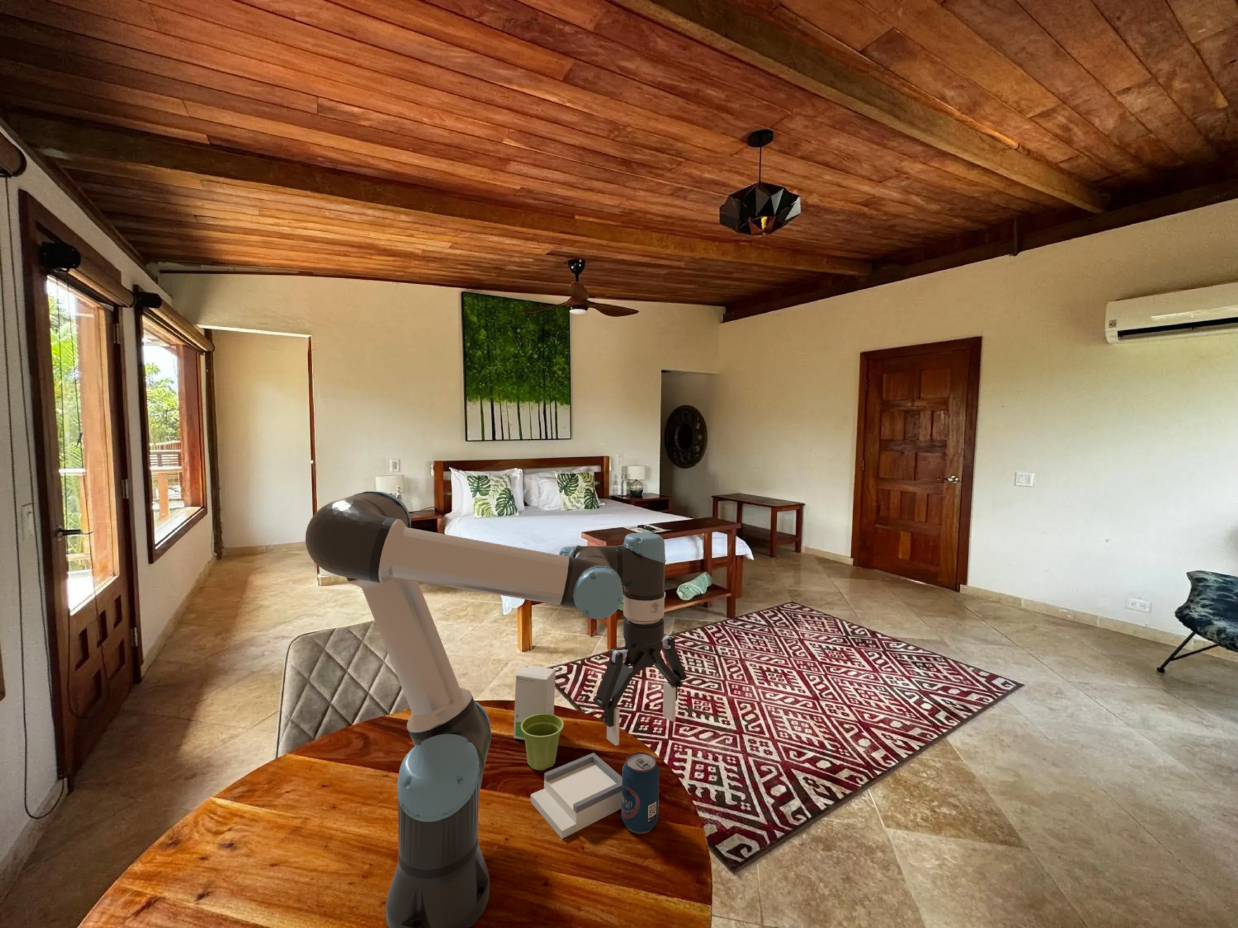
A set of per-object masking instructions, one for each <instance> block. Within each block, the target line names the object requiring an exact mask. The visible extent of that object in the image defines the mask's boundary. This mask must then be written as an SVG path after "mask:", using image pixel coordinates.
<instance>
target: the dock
mask: <svg viewBox="0 0 1238 928" xmlns="http://www.w3.org/2000/svg"><path fill="white" fill-rule="evenodd" d="M530 803H531V804H532V805H533V807H535V810H537V811H538V812H539V814H540V815H541V817H543V819H544V820H545V821H546V822H547V823H548V824H549V825H550V827H551V828H552V829H553V830H554V831H555V833H556V834H557V835H558V837H559V838H560V839H562V840H563V839H565V838H566V837H569V836H570V835H573V834H575V833H577V832H578V831H580V830H583V829H584V828H586V827H588V826H590V825H592V824H594V823H597V822H598V821H600V820H601V819H603V818H605V817H608V816H610V815H612V814H613V813H616V812H618V811H619V810H622V775H621V774H619V773H618V772H617V771H616V770H614V769H613V768H612V767H611V766H610V765H609V764H608V763H606V762H605V761H604V760H603V759H602V758H601V757H599V756H598V755H597V754H596V753H595V752H592V753H590V754H587V755H585V756H582V757H580V758H578V759H575V760H573V761H570V762H568V763H565V764H563V765H561V766H558V767H556V768H554V769H551V770H548V771H546V772H544V774H543V789H540V790H538V791H535V792H533V793H531V794H530Z"/></svg>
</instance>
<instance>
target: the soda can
mask: <svg viewBox="0 0 1238 928" xmlns="http://www.w3.org/2000/svg"><path fill="white" fill-rule="evenodd" d="M621 768H622V770H621V772H622V774H621V777H622V808H621V810H620V811H621V814H620V815H621V820H622V822H623V824H624V825H625V828H627V830H629V831H630V832H632V833H634V834H638V835H639V834H641V835H643V834H646V833H649V832H651V830H652V831H653V829H654V827H655V826H656V824H657V823H658V820H659V806H660V805H659V803H660V801H659V800H660V799H659V798H660V797H659V795H660V794H659V793H660V768H659V766H658V764H657V760H656V758H655V757H654V755H652V754H650V753H648V752H645V751H636V752H632V753H630V754H628V755H627V756H626V758H625V762H624V764H623V766H622V767H621Z"/></svg>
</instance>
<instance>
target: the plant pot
mask: <svg viewBox="0 0 1238 928" xmlns="http://www.w3.org/2000/svg"><path fill="white" fill-rule="evenodd" d="M564 724H565V723H564V720H563V719H562V718H561V717H559V716H558V715H555V714H554V715H553V714H546V713H542V714H536V715H532V716H530V717H528V718H526V719H525V720H524V721H523V722H522V724H521V730H522V732H523V735H524V737H525V740H524V742H525V743H524V744H525V750H526V751H525V753H526V760H527V764H528V766H529V767H530V768H531V769H532V770H537V771H544V770H546V769H549V768H552V767H553V766H554V765H555V763H556V758H557V754H558V753H557V752H558V746H559V739H560V736H561V733H562V731H563V729H564Z"/></svg>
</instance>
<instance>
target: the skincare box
mask: <svg viewBox="0 0 1238 928" xmlns="http://www.w3.org/2000/svg"><path fill="white" fill-rule="evenodd" d="M514 690H515V691H514V692H515V693H514V712H513V713H514V715H513V716H514V720H513V738H514V739H518V740H524V741H525V737H524V735H523V732H522V730H521V724H522V722H523V721H524V720H525V719H526V718H528V717H530V716H532V715H536V714H542V713H546V714H553V715H555V694H556V693H555V692H556V691H555V690H556V669H554V668H549V667H543V666H541V665H540V666H535V665H529V664H524V666H523V667H521V669H520V670H519V671H518V672H517V673H516V674H515V689H514Z"/></svg>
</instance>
